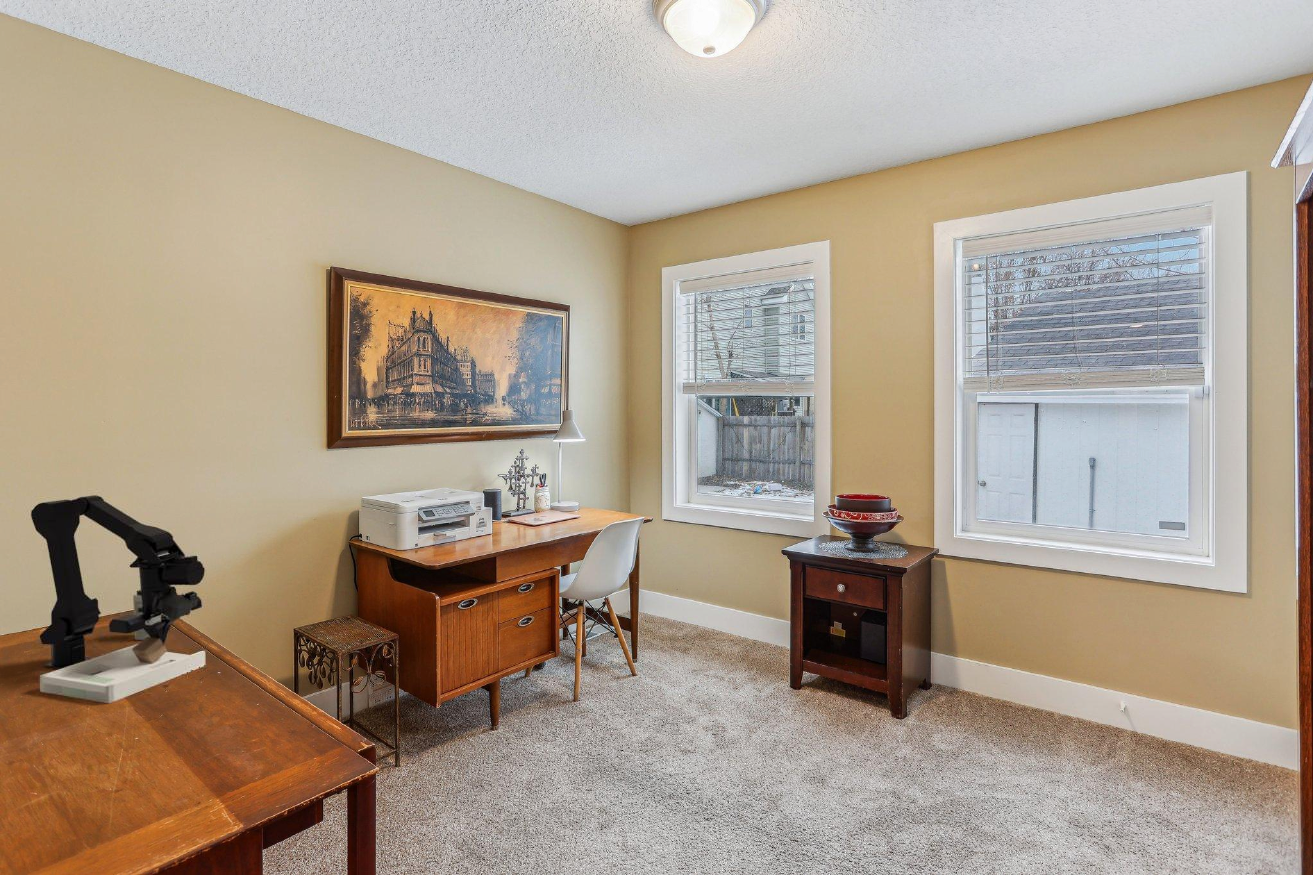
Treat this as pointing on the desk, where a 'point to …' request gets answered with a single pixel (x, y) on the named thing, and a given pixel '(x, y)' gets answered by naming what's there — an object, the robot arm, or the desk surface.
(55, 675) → the platform
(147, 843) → the desk surface
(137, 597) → the skincare box
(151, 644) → the block
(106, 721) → the desk surface
